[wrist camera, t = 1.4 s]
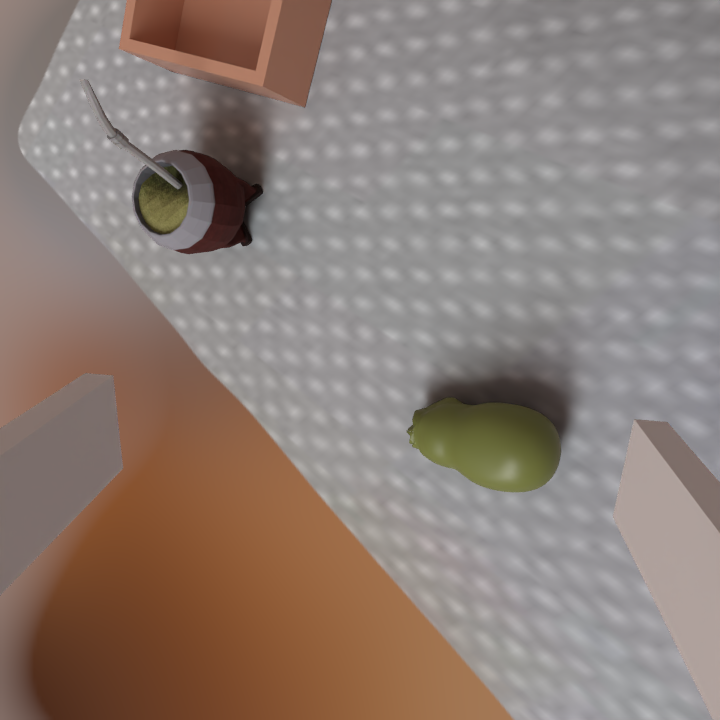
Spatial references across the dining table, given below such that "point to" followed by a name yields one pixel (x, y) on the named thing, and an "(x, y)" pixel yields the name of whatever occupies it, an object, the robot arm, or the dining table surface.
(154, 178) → the mate gourd
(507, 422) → the pear
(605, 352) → the dining table surface
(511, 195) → the dining table surface
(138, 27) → the box
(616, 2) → the dining table surface
